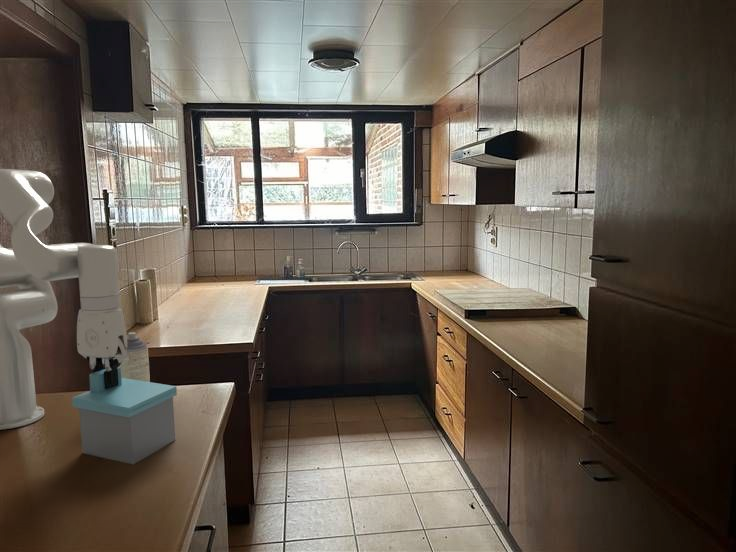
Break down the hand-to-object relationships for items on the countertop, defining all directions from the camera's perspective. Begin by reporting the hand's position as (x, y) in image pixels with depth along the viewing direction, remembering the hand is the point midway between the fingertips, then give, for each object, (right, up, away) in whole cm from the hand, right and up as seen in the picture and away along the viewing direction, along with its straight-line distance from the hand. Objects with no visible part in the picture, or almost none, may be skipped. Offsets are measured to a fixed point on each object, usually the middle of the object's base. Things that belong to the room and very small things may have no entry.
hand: (106, 385), depth 115 cm
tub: (+5, -13, 0) cm, 14 cm away
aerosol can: (-2, -11, +21) cm, 23 cm away
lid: (+5, -3, -2) cm, 6 cm away
